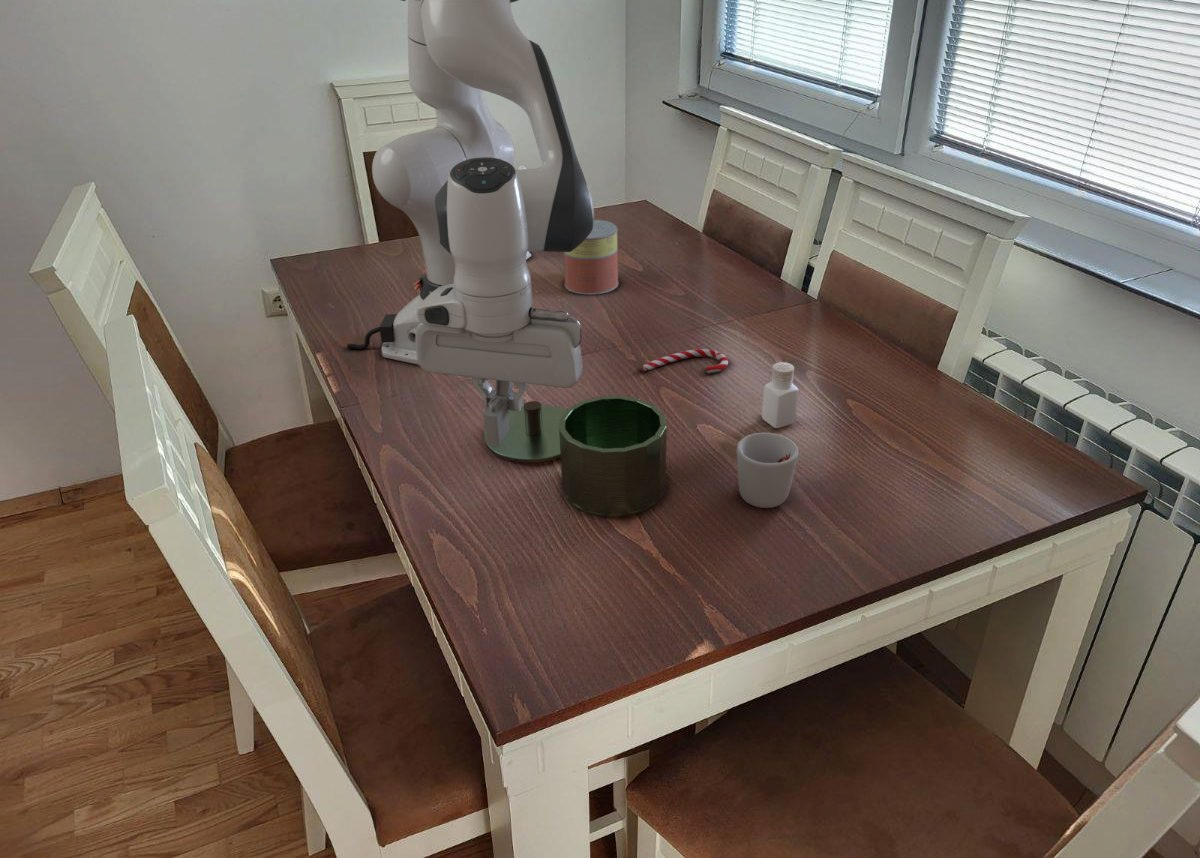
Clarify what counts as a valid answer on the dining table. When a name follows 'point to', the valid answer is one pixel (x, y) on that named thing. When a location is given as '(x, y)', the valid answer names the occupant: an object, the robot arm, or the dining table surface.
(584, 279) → the canned food
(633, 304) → the dining table surface
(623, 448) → the tin
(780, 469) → the cup
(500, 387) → the lighter
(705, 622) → the dining table surface
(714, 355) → the candy cane
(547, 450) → the tin lid
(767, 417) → the pepper shaker
